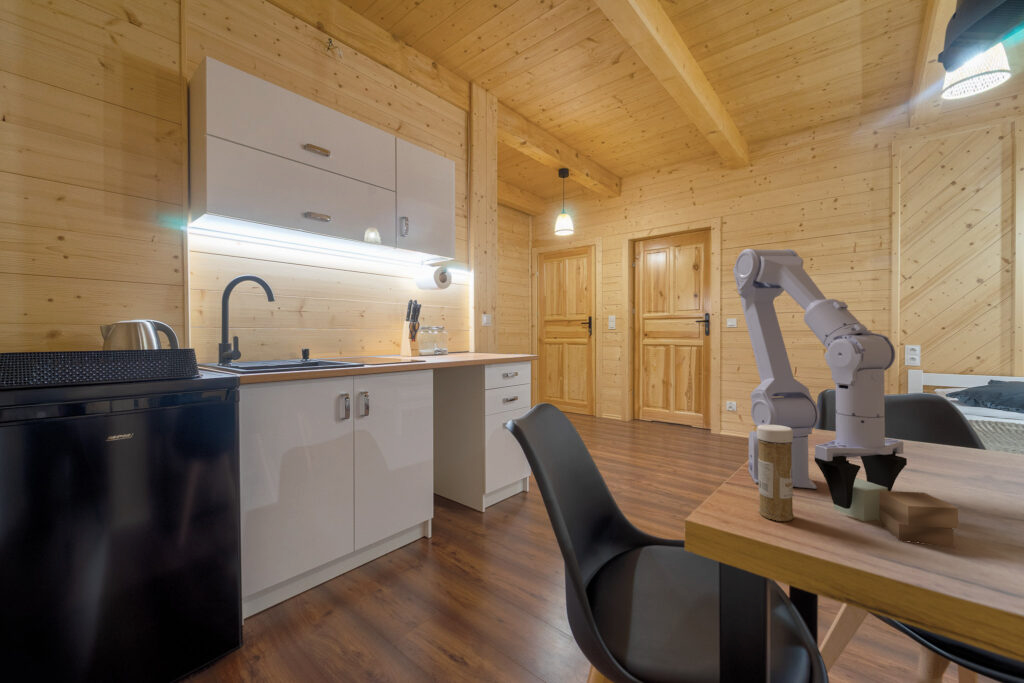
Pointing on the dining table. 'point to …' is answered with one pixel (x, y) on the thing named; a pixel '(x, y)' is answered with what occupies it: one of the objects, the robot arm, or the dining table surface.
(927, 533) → the tower bottom
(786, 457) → the sprinkles bottle
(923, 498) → the tower top
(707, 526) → the dining table surface
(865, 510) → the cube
